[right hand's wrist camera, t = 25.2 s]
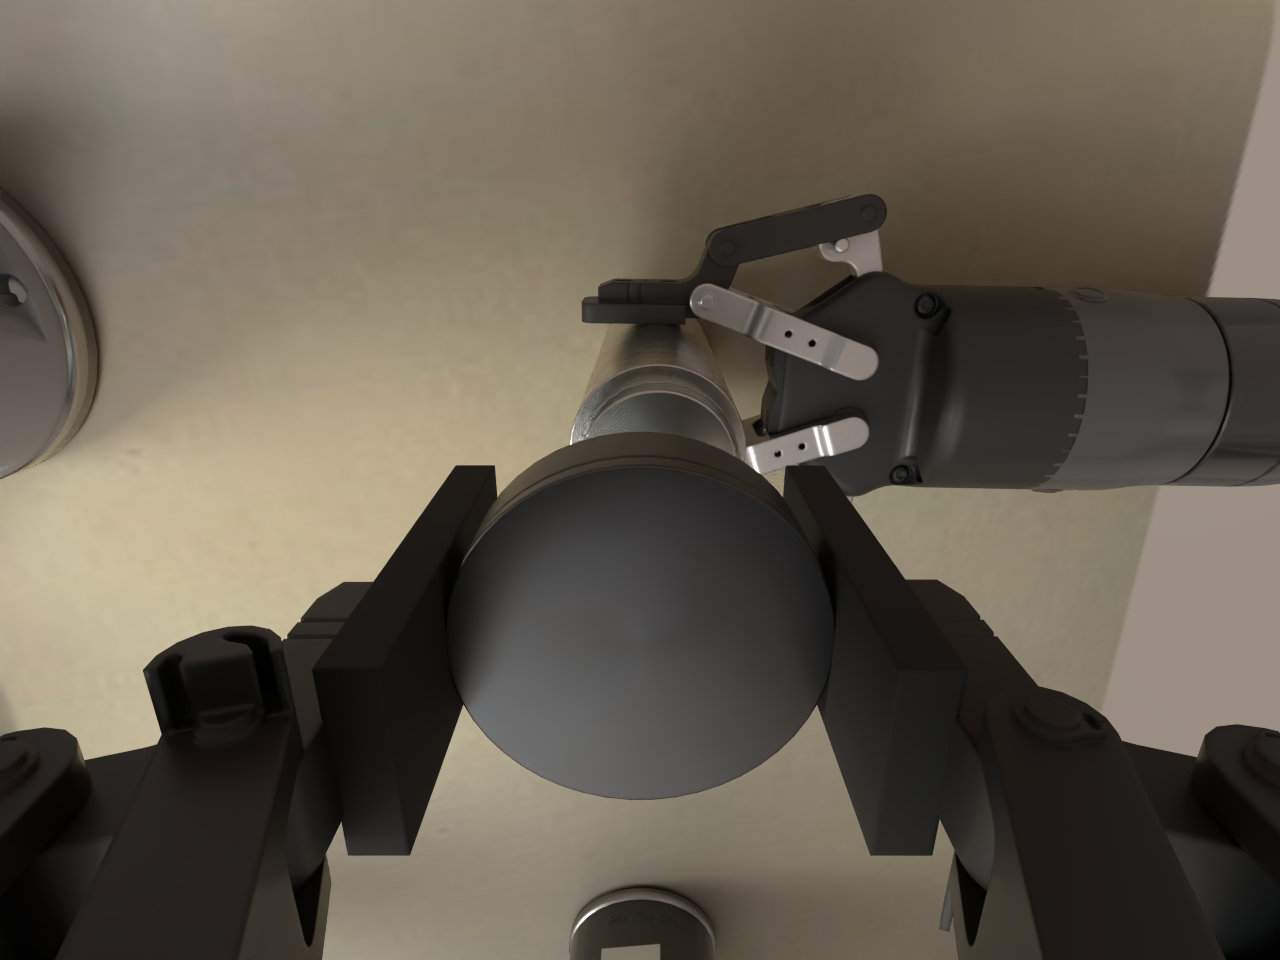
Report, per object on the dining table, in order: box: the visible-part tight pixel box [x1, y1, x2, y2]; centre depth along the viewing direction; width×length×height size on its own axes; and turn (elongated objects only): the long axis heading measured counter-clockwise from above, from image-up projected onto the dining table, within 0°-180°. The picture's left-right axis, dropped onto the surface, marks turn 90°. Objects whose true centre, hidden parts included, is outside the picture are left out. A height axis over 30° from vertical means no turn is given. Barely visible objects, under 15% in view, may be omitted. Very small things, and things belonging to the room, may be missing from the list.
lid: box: [445, 432, 836, 800], centre depth 11 cm, size 6×6×2 cm
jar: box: [570, 318, 746, 462], centre depth 26 cm, size 5×5×16 cm
